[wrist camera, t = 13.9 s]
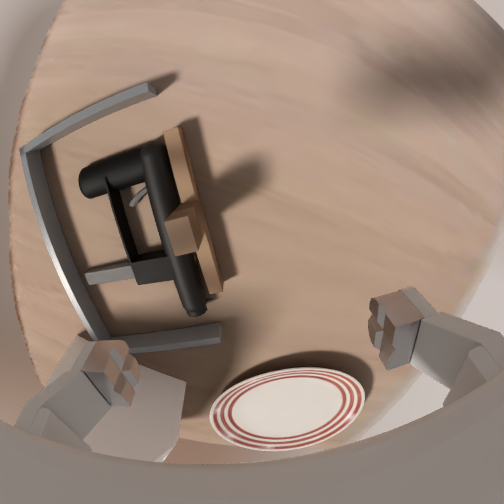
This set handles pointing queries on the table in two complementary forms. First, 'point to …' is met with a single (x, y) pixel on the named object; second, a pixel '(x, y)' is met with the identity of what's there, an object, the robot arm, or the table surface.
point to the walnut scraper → (190, 214)
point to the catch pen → (60, 248)
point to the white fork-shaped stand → (135, 415)
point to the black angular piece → (163, 204)
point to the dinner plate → (287, 408)
